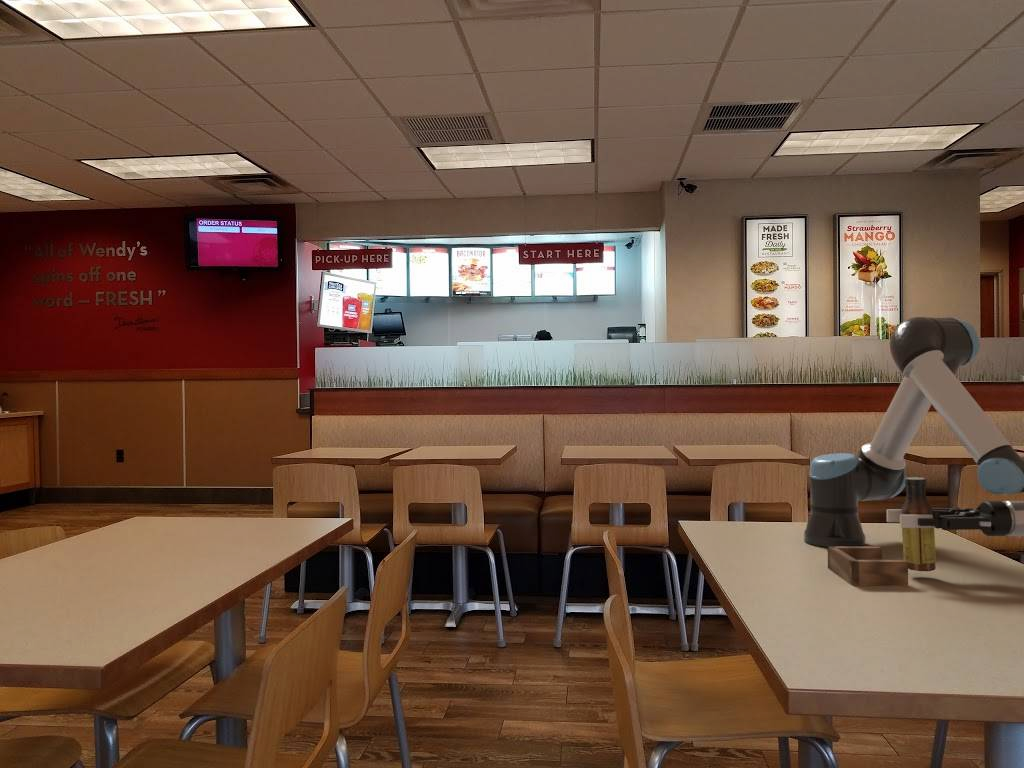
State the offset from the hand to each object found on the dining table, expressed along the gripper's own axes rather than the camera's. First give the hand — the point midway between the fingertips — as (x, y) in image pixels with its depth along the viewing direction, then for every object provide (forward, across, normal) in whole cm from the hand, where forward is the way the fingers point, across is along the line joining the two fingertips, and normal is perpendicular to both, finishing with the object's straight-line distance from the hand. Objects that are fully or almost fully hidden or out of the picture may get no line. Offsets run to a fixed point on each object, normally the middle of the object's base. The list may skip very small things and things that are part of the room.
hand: (894, 518), depth 167 cm
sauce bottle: (-5, 0, -11) cm, 12 cm away
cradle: (+5, +1, -13) cm, 14 cm away
